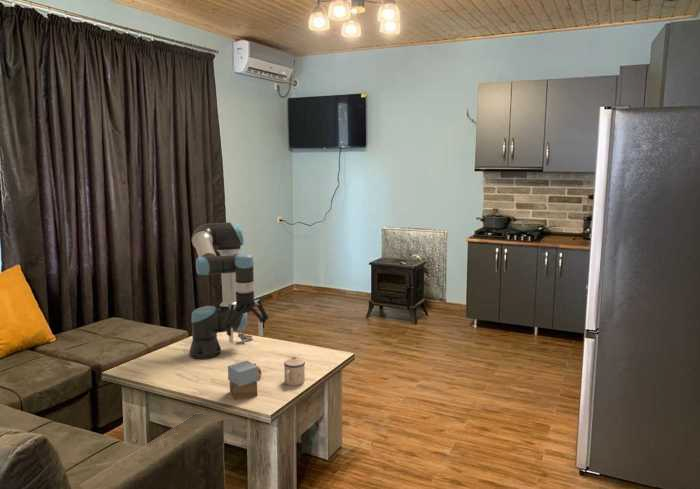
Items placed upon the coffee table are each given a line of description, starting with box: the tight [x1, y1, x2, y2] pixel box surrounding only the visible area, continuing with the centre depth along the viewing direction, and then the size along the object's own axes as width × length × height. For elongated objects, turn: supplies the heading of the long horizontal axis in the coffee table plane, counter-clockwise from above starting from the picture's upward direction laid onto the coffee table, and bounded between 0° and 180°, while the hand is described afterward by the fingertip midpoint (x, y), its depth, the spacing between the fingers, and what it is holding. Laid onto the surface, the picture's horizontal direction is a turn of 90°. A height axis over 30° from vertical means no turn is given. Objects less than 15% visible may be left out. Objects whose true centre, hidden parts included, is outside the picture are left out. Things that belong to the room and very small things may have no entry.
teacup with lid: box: [283, 355, 306, 386], centre depth 233 cm, size 12×9×12 cm
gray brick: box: [227, 360, 260, 387], centre depth 222 cm, size 9×9×6 cm
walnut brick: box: [229, 381, 258, 401], centre depth 222 cm, size 9×9×6 cm
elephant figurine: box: [237, 330, 254, 345], centre depth 286 cm, size 10×6×9 cm
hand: (246, 339), depth 230 cm, fingers open, 13 cm apart
